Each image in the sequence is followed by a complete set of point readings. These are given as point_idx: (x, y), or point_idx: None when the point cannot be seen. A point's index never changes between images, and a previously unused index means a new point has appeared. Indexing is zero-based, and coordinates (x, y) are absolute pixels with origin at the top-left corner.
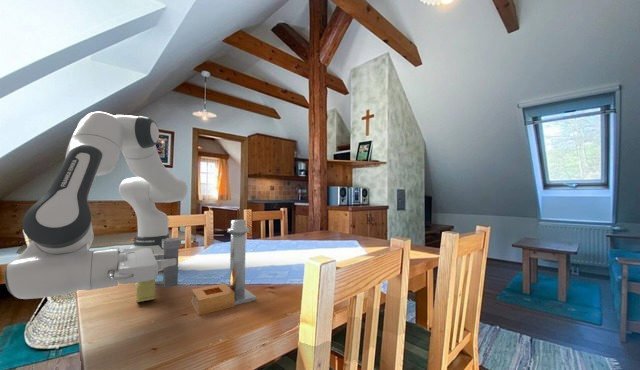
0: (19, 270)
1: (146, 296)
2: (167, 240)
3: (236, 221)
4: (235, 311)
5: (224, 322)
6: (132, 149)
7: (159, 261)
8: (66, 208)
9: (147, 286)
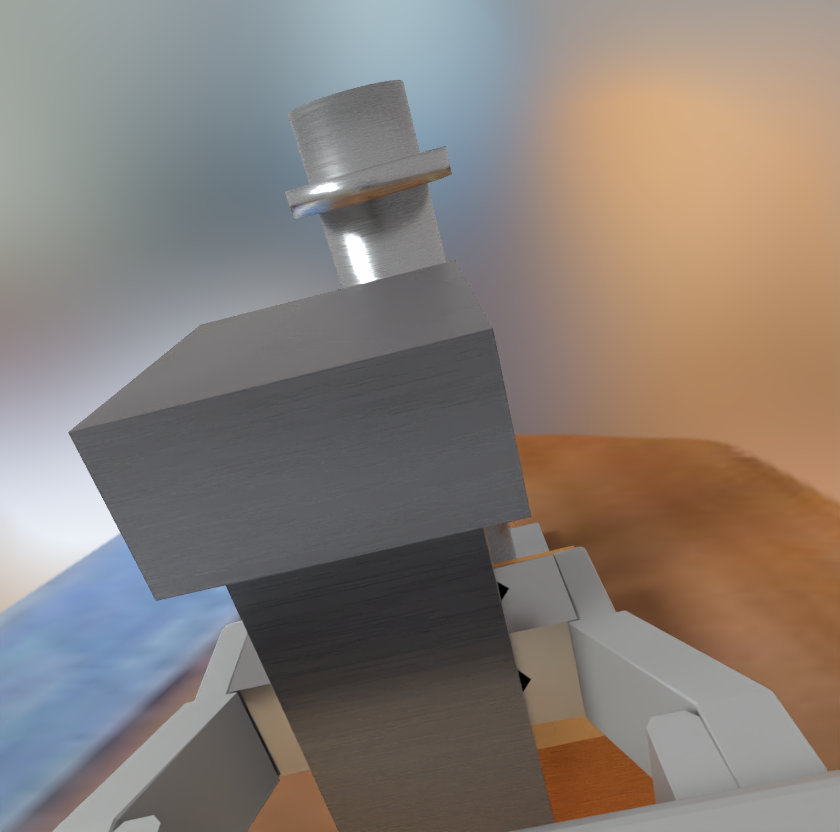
0: None
1: None
2: (353, 334)
3: (393, 82)
4: (659, 610)
5: (815, 660)
6: None
7: (798, 733)
8: None
9: None
